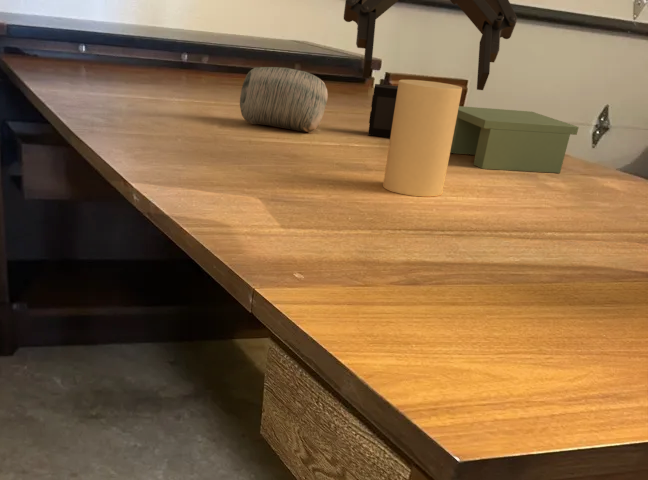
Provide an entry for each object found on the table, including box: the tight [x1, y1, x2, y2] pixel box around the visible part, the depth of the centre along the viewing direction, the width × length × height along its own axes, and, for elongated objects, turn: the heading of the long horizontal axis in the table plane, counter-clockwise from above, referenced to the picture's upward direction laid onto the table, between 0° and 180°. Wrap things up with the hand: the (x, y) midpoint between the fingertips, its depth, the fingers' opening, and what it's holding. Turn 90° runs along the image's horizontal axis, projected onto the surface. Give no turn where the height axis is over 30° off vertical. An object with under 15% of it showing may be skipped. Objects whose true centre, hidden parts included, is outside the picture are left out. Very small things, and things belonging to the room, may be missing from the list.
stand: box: [450, 105, 580, 174], centre depth 118 cm, size 14×14×6 cm
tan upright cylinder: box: [382, 79, 463, 198], centre depth 93 cm, size 7×7×11 cm
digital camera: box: [367, 83, 398, 139], centre depth 128 cm, size 10×5×7 cm, turn 83°
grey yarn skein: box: [239, 66, 329, 133], centre depth 125 cm, size 14×10×10 cm
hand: (425, 75), depth 95 cm, fingers open, 13 cm apart
